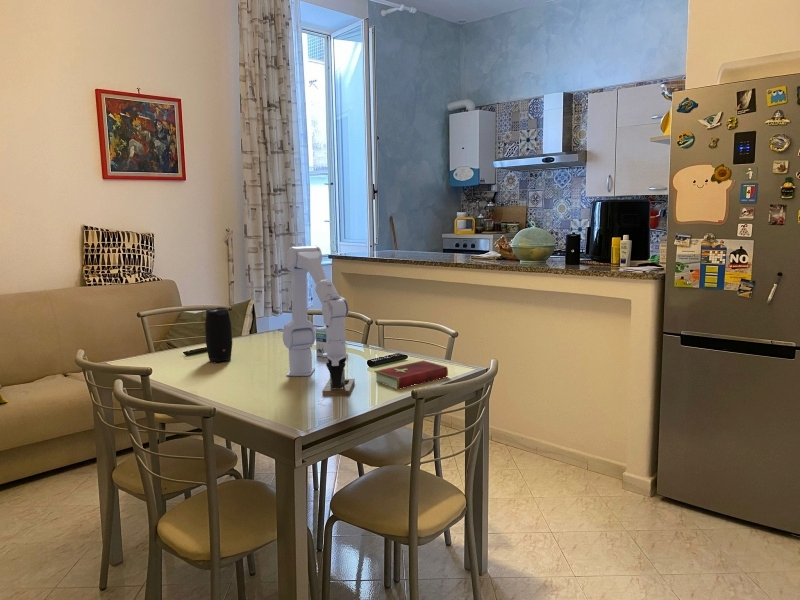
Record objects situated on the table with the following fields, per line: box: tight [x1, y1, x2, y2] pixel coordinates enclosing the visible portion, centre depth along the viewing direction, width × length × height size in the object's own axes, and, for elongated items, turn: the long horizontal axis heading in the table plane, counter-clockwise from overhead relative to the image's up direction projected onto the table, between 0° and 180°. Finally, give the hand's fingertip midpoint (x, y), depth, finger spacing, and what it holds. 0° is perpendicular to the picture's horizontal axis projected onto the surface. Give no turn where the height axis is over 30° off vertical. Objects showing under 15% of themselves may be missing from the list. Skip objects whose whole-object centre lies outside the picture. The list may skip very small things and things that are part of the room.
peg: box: [329, 368, 346, 389], centre depth 183 cm, size 4×4×7 cm
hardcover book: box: [374, 359, 449, 390], centre depth 196 cm, size 12×21×4 cm, turn 129°
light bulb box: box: [315, 325, 327, 358], centre depth 232 cm, size 11×7×11 cm, turn 148°
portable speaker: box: [204, 306, 233, 363], centre depth 224 cm, size 9×9×20 cm
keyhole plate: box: [321, 378, 356, 397], centre depth 186 cm, size 13×8×2 cm, turn 177°
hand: (337, 383), depth 183 cm, fingers closed on peg, 4 cm apart
